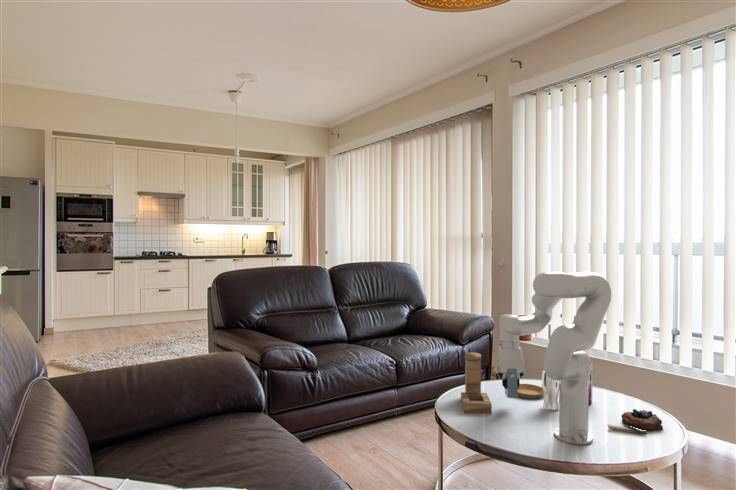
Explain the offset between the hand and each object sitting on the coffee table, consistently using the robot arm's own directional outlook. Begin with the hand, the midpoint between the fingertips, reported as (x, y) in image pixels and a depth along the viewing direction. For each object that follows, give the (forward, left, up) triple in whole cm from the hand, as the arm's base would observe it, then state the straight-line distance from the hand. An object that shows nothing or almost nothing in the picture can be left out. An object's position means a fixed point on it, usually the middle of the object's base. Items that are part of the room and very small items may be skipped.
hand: (511, 387), depth 194 cm
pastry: (-13, -46, -9) cm, 49 cm away
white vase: (+2, -17, -9) cm, 19 cm away
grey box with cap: (0, 0, -3) cm, 3 cm away
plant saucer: (+19, -12, -9) cm, 24 cm away
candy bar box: (+11, -31, -9) cm, 34 cm away
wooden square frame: (+4, +14, -9) cm, 17 cm away
